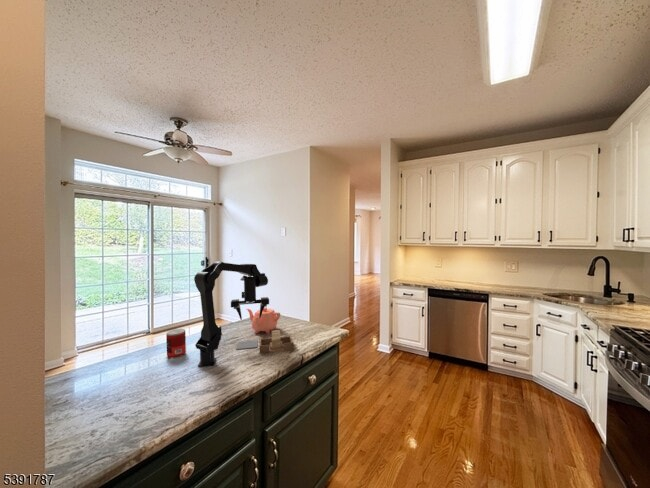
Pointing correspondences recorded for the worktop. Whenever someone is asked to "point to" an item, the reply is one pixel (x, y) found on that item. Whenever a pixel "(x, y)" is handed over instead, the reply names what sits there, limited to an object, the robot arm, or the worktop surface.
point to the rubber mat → (247, 344)
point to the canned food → (176, 343)
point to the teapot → (264, 320)
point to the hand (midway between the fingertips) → (250, 318)
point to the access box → (267, 347)
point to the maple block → (276, 338)
